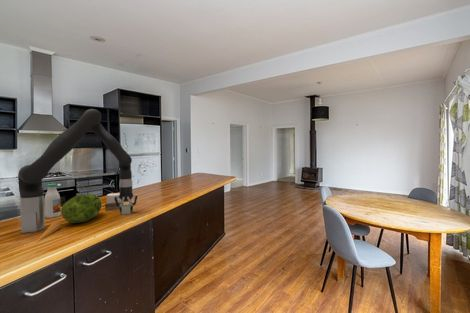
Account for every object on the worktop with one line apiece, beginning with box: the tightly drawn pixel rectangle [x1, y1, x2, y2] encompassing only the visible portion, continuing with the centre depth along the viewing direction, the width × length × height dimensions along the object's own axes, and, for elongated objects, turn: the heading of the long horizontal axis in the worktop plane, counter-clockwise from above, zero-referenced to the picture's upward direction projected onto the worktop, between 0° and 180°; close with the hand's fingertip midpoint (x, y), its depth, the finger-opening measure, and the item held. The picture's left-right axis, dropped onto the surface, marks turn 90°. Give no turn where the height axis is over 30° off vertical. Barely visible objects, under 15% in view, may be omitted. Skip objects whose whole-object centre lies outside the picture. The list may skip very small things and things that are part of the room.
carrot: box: [36, 220, 62, 243], centre depth 114 cm, size 20×4×4 cm, turn 14°
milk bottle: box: [44, 183, 62, 219], centre depth 145 cm, size 8×8×20 cm
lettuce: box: [61, 193, 103, 224], centre depth 138 cm, size 15×27×16 cm, turn 0°
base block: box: [104, 200, 124, 212], centre depth 165 cm, size 10×10×5 cm
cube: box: [121, 203, 132, 215], centre depth 152 cm, size 5×5×5 cm
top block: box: [106, 192, 121, 203], centre depth 164 cm, size 8×8×5 cm
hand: (126, 211), depth 152 cm, fingers closed on cube, 5 cm apart
